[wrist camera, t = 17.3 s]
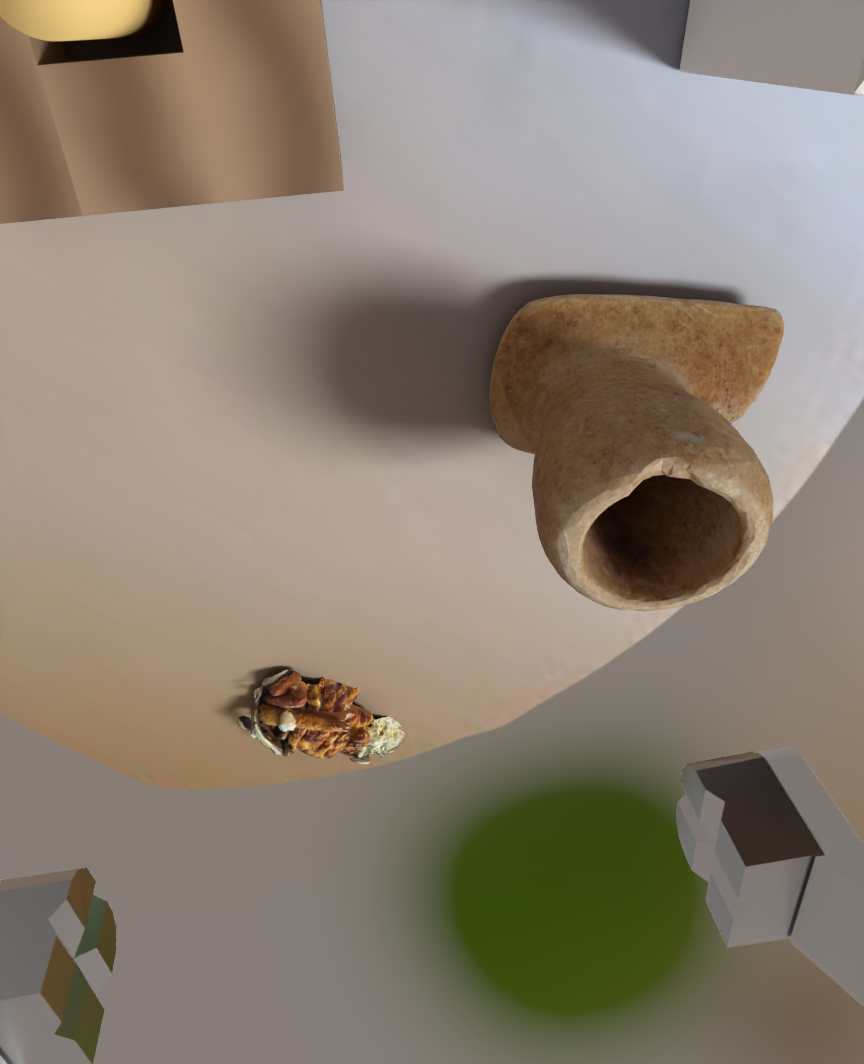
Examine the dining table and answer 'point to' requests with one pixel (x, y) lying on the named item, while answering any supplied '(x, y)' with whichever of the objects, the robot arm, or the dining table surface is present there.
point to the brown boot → (640, 440)
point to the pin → (82, 18)
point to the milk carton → (778, 42)
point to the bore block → (169, 113)
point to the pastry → (317, 720)
